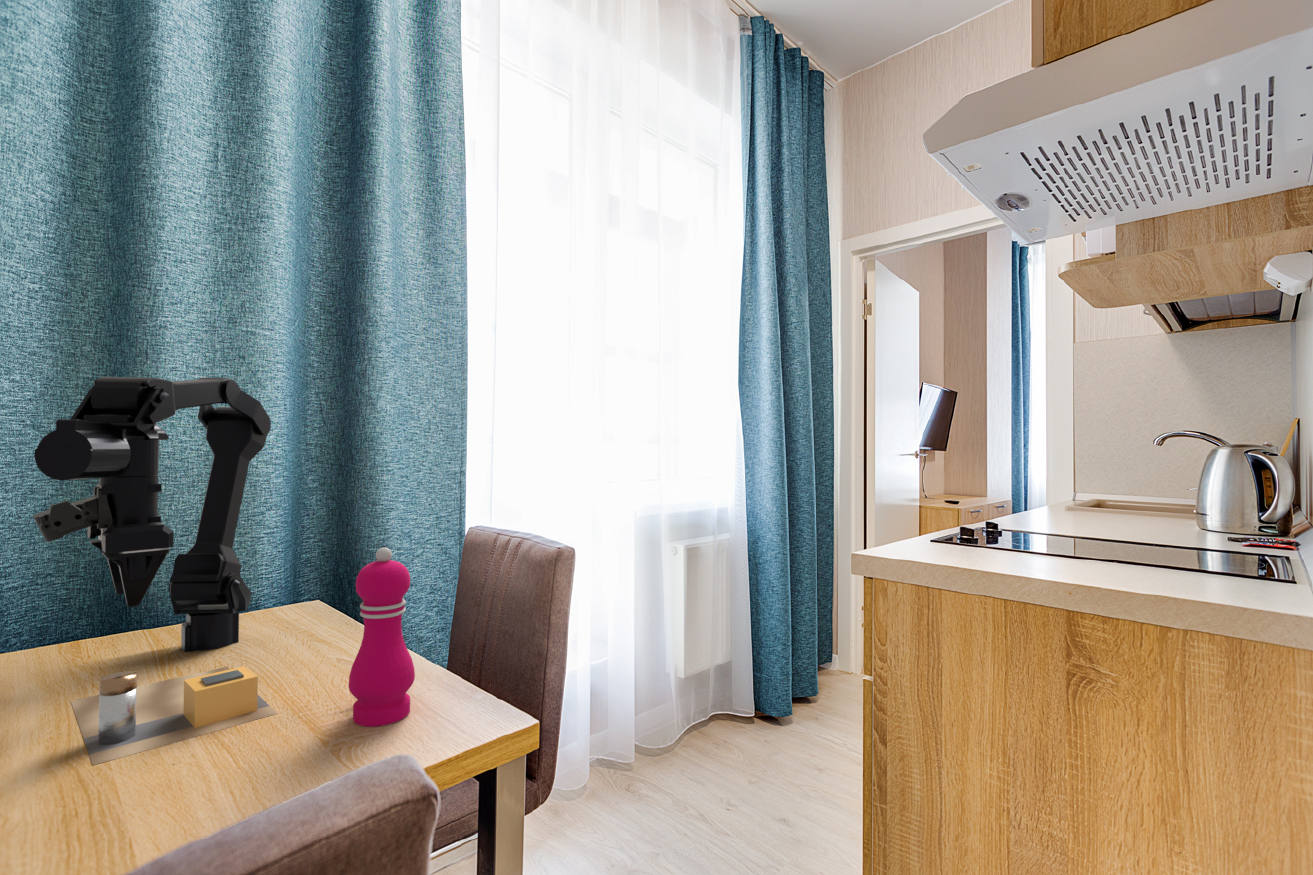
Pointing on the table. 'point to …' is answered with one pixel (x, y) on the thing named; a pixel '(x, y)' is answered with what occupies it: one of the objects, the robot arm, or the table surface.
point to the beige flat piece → (154, 719)
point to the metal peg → (117, 707)
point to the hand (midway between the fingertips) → (127, 599)
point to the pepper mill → (382, 645)
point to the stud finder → (220, 696)
